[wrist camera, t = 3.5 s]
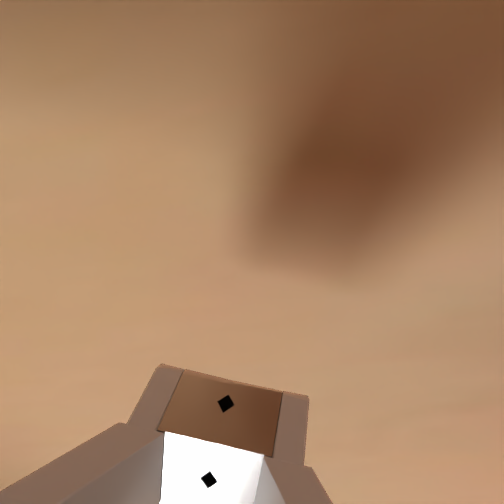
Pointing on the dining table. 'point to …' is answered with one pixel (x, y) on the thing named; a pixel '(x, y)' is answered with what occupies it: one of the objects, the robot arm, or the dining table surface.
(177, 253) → the dining table surface
